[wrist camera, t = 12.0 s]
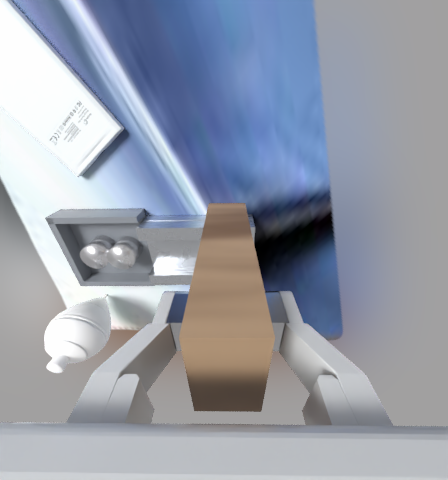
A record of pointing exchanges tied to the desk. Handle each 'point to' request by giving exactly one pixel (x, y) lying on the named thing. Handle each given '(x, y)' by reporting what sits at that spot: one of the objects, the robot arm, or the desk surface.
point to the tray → (95, 224)
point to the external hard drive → (50, 95)
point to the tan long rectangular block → (227, 317)
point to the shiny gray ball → (97, 252)
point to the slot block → (174, 246)
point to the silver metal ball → (124, 252)
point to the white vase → (77, 333)
